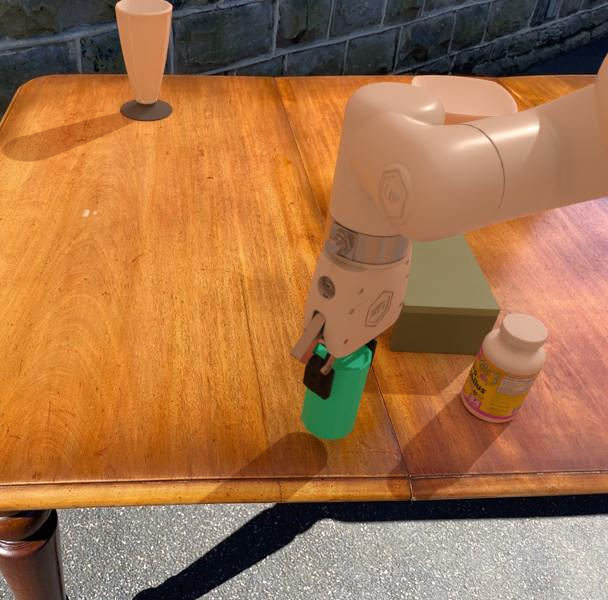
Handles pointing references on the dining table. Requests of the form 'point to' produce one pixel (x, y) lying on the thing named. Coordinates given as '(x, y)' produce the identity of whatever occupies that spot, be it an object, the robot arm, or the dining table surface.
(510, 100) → the bowl
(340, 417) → the candle
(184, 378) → the dining table surface
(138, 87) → the cup
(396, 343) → the shelf
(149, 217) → the dining table surface
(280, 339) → the dining table surface
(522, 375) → the supplement bottle
